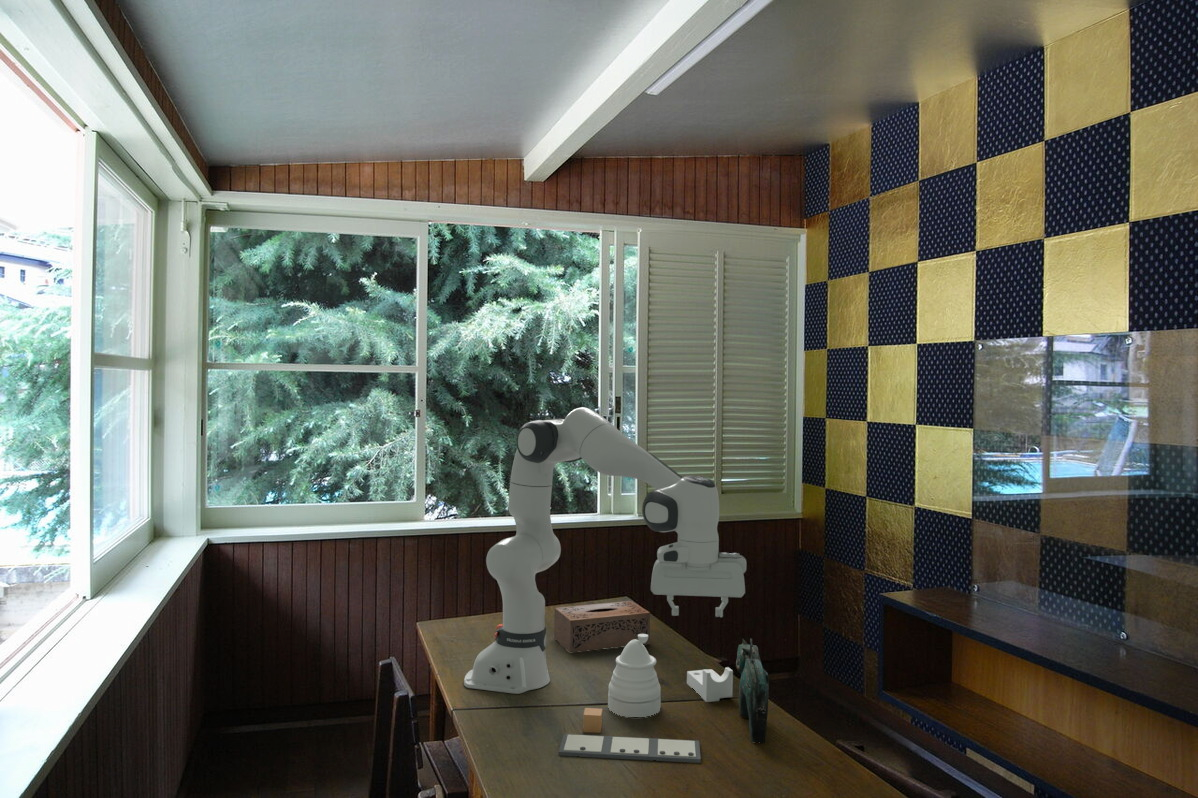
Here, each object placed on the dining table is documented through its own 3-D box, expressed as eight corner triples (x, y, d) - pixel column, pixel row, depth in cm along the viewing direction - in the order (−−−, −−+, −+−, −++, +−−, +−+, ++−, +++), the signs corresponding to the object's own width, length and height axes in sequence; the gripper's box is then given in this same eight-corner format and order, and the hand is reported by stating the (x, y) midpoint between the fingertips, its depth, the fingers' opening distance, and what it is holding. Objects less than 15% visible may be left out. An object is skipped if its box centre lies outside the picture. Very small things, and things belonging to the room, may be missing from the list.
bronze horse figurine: (733, 709, 201) (735, 628, 201) (760, 710, 201) (761, 628, 201) (745, 745, 181) (747, 654, 181) (775, 745, 181) (776, 655, 181)
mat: (558, 755, 175) (558, 749, 175) (563, 737, 184) (563, 732, 184) (700, 763, 172) (700, 757, 172) (698, 744, 181) (699, 738, 181)
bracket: (732, 700, 207) (732, 670, 207) (706, 703, 205) (706, 673, 205) (711, 682, 220) (712, 654, 220) (686, 684, 218) (687, 656, 218)
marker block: (583, 732, 187) (583, 714, 187) (584, 724, 191) (585, 707, 191) (600, 733, 186) (601, 715, 186) (602, 725, 190) (602, 708, 190)
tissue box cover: (630, 631, 264) (630, 600, 263) (649, 645, 250) (650, 612, 250) (554, 640, 254) (554, 607, 254) (569, 654, 241) (570, 620, 240)
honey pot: (666, 701, 205) (667, 630, 205) (652, 721, 193) (653, 645, 193) (617, 694, 209) (618, 624, 209) (600, 713, 197) (602, 639, 197)
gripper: (745, 550, 180) (744, 613, 180) (651, 547, 181) (650, 610, 182) (748, 556, 173) (747, 621, 174) (651, 553, 175) (650, 618, 175)
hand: (697, 615), depth 178 cm, fingers open, 8 cm apart
